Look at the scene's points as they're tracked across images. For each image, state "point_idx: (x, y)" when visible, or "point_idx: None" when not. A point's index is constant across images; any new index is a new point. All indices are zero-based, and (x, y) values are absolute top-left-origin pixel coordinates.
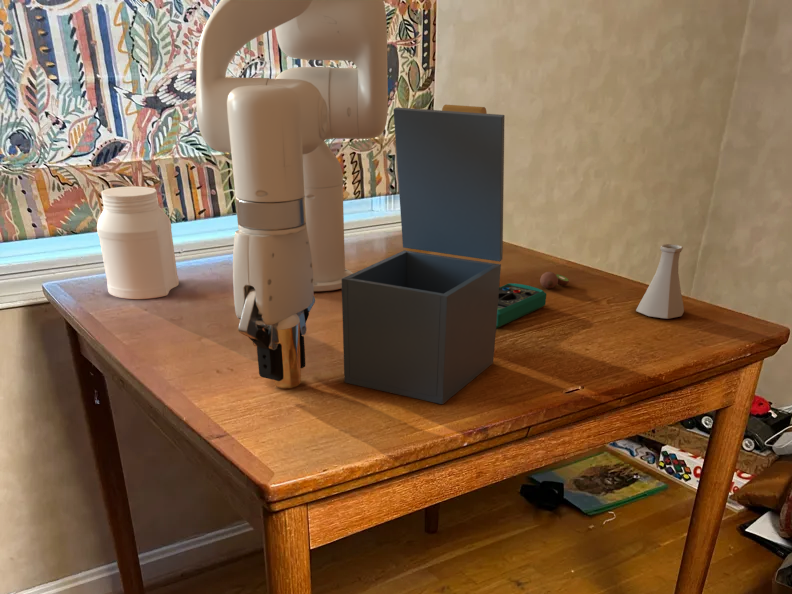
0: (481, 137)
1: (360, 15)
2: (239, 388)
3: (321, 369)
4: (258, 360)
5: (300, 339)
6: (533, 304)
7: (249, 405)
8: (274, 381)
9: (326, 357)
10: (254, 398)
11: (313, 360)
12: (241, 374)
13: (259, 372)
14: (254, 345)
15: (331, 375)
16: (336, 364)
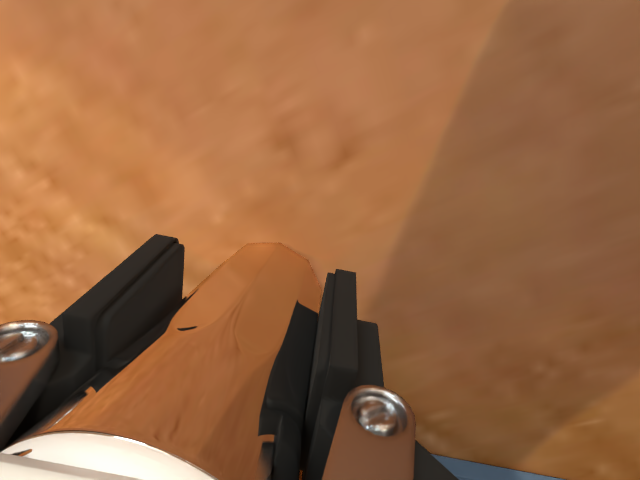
0: None
1: None
2: (150, 122)
3: (454, 344)
4: (118, 268)
5: (303, 469)
6: None
7: (40, 234)
8: (232, 255)
9: (596, 322)
10: (99, 224)
11: (551, 287)
12: (298, 47)
13: (152, 239)
14: (5, 328)
15: (404, 388)
16: (519, 375)
